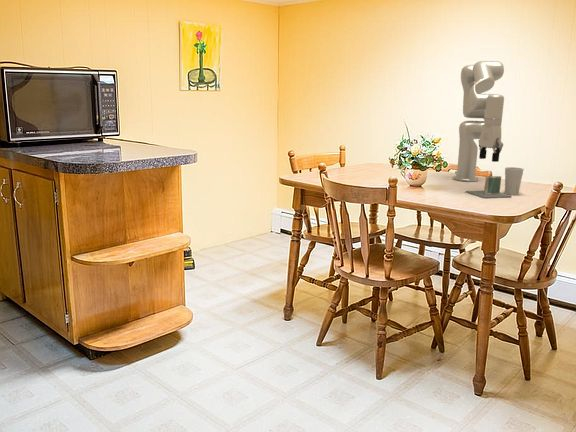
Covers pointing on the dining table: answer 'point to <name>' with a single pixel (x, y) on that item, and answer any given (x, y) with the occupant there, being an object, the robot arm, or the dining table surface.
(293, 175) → the dining table surface
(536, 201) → the dining table surface
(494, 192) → the tile
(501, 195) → the mat
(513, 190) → the cup
